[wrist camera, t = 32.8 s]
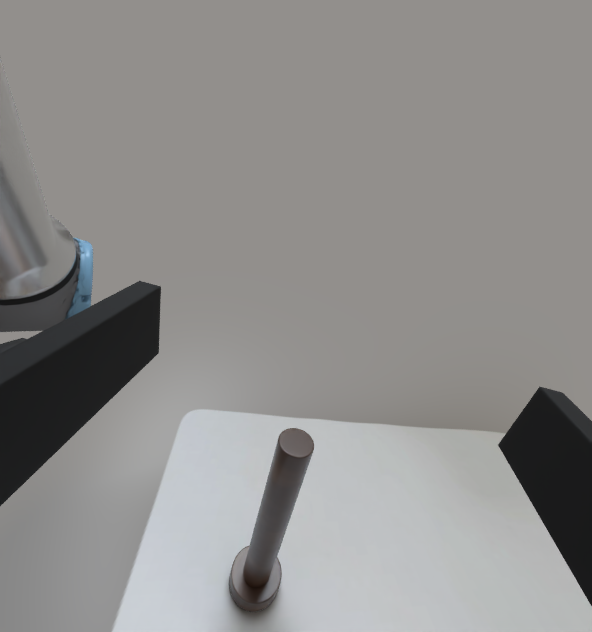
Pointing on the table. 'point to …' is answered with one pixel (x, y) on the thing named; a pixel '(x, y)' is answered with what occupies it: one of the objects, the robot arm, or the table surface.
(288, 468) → the muddler
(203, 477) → the table surface
